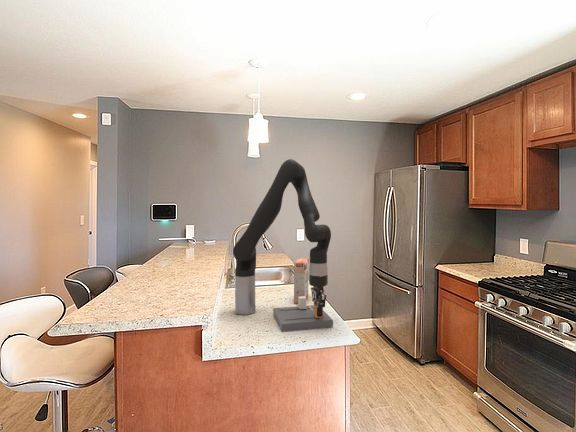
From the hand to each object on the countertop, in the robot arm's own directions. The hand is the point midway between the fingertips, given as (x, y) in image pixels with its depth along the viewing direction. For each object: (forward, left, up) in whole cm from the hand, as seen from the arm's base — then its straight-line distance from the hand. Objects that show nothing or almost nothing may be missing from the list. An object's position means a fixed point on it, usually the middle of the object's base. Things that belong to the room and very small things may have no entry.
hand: (318, 314), depth 132 cm
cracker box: (+2, +35, -4) cm, 35 cm away
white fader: (-4, +12, -1) cm, 13 cm away
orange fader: (0, 0, -1) cm, 1 cm away
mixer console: (-6, +6, -4) cm, 9 cm away
